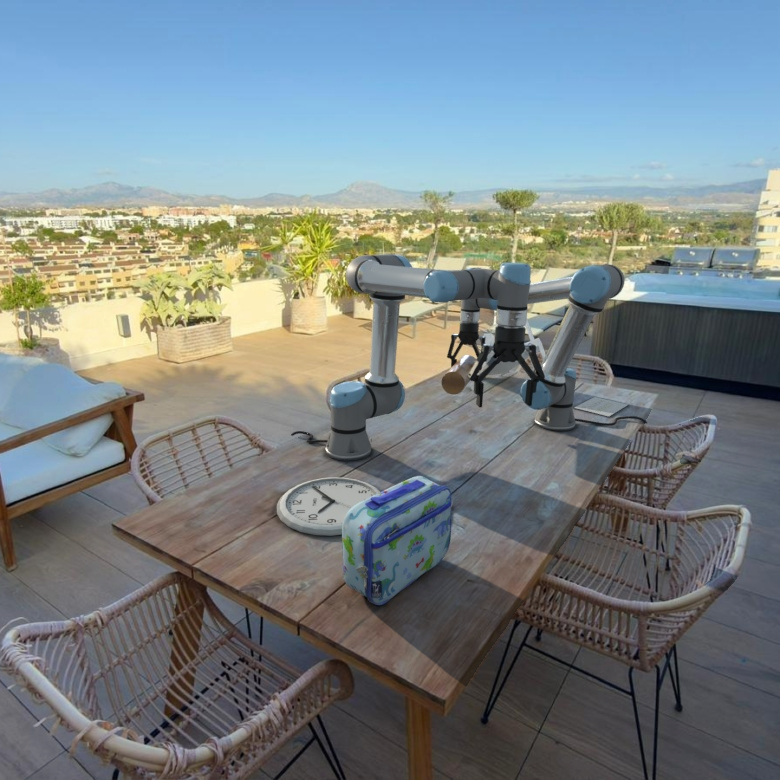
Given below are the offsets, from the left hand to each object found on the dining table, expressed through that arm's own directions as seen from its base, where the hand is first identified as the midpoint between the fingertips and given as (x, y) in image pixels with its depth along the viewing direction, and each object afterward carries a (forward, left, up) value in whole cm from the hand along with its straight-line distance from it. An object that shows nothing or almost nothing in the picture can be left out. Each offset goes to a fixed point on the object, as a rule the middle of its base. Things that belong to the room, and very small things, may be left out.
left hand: (503, 405), depth 139 cm
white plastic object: (-35, +114, -28) cm, 123 cm away
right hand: (-37, +64, -13) cm, 75 cm away
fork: (-9, -16, -28) cm, 34 cm away
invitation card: (+11, +103, -28) cm, 107 cm away
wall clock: (-37, -27, -28) cm, 54 cm away
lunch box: (-6, -44, -28) cm, 53 cm away
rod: (-35, +54, -14) cm, 66 cm away
